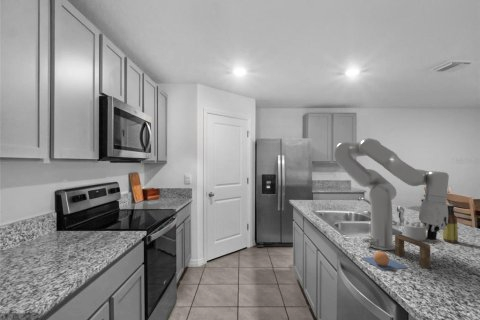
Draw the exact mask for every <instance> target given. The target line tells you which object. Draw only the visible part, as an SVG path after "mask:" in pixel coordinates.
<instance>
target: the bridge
mask: <svg viewBox="0 0 480 320" xmlns="http://www.w3.org/2000/svg"><path fill="white" fill-rule="evenodd" d="M405 242H407V243H409V244H412V245H415V246H417V247H419V267H421V268H423V269H429V268H431V244H429V243H426V242H423V241H422V240H420V241H419V240H415V239H412V238H409V237H407V236H404V234H394V244H395V250H394V254H395V256H398V257H403V256H405Z"/></svg>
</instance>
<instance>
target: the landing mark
mask: <svg viewBox="0 0 480 320" xmlns="http://www.w3.org/2000/svg"><path fill="white" fill-rule="evenodd" d="M361 260H363V261H365V262H367V263H368V264H370V265H372V266H374V267H375V268H377V269H378V270H380V271H389V270H399V269H400V270H402V269H408V267H407V266H406V265H404V264H402V263H399V262H398V261H395V260H393V259H391V258H389V263H388V264H387V265H385V266H380V265H378V264H377V263H376V262H375V260H374V256H368V257H361Z"/></svg>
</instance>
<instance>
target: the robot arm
mask: <svg viewBox="0 0 480 320" xmlns="http://www.w3.org/2000/svg"><path fill="white" fill-rule="evenodd" d="M333 152H334V159H335V162H336V164H337V165H338V166H339V167H340V168H341V169H342V170H343V172H345V173H346V174H347V175H348V176H349V177H350V178H351V179H352V180H353V181H354V182H355V183H357V184H358V186H360V187H363V188H368V189H370V190H369V195H368V196H369V203H370V235H369V236H368V237H367V238H362V240H361V241H362V243H364V244H366V243H367V245H368V246H369V247H371V248H373V249H376V250H381V251H395V243H393V205H392V200H394V199H395V198H396V196H397V189H396V187H395V186H394V185H393V184H392V183H391V182H390V181H389V180H387V179H386V178H385V177H383V175H381V174H380V173H379V172H377V171H376V170H374V169H372V168H371V169H369V168H366V167H365V166H364V165H362V164H361V163H360V162H359V160H356V159H355V158H357V157H366V156H367V157H368V158H370V159H371V160H373V161H374V162H376V163H377V164H379V165H381V166H382V167H383V168H384V169H385V170H387V171H388V172H389V173H390V174H391V175H393V176H394V177H396V178H397V179H399V180H400V181H402V182H403V183H404V184H406V185H408V186H411V187H418V186H425V192H424V193H425V194H423V197H424V199H423V200H422V202H421V204H420V208H419V213H418V220H419V222H421V223H423V224H425V226H426V240H430V241H437V235H438V232H439V231H442V230H446V226H447V224H448V206H447V198H448V197H447V196H448V188H449V177H450V176H449V173H447V172H446V171H433V170H432V171H430V170H429V171H428V170H423V169H418V168H415V167H413V166H411V165H410V164H408V163H406V162H405V161H404V160H402V159H401V158H400V157H399V155H398V154H397V152H396V153H395V151H393V150H391V149H390V148H388V147H386V146H385V145H383V144H382V143H381V142H380V141H379V140H377V139H374V138H364V139H363V140H361V141H357V142H356V141H355V142H350V141H343V142H340V143H338V144H337V145H336V147H335V149H334V151H333Z"/></svg>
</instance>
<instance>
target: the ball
mask: <svg viewBox="0 0 480 320" xmlns="http://www.w3.org/2000/svg"><path fill="white" fill-rule="evenodd" d="M373 257H374V260H375V262H376V263H377V264H378V265H380V266H385V265H387V264H388V263H389V255H388V254H387V253H386V252H383V251H377V252H375V253H374V255H373Z"/></svg>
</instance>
